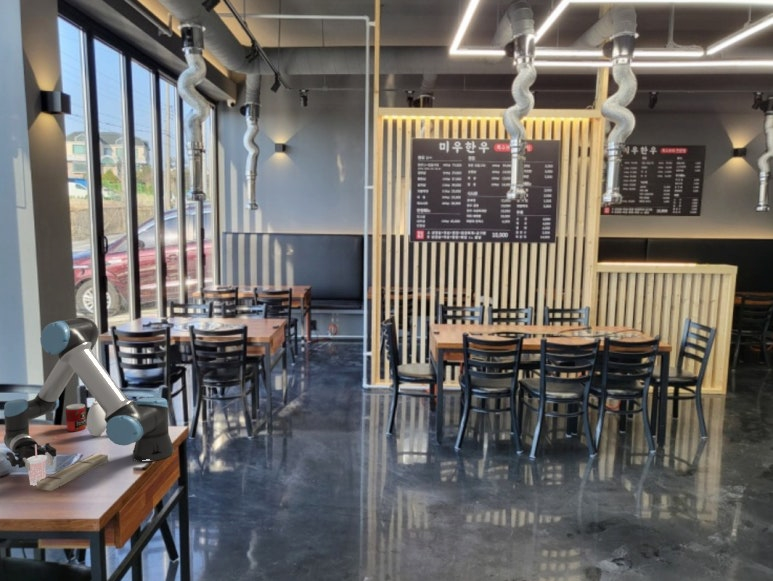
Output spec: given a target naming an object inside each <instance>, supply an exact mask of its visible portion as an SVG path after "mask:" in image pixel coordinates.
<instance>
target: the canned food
mask: <svg viewBox="0 0 773 581" xmlns="http://www.w3.org/2000/svg"><path fill="white" fill-rule="evenodd" d="M86 413H87V412H86V404H84V403H72V404H68V405H67V406H65V421H66V425H65V426H66V430H67V432H69V431H70V432H69V433H76V432H81V431H84V430H85V429H86V428H87V415H86Z"/></svg>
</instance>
